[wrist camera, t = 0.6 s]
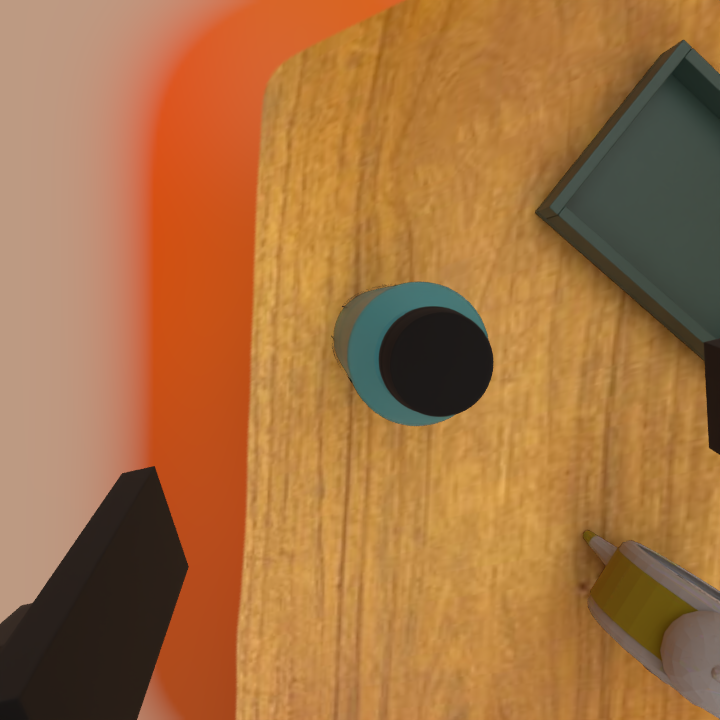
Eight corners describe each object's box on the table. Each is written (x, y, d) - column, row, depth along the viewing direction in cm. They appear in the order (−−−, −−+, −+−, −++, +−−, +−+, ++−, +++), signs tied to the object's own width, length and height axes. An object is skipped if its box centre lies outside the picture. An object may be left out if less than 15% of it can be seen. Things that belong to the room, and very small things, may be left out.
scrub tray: (534, 212, 41) (548, 207, 39) (661, 54, 41) (683, 38, 38) (714, 370, 43) (739, 374, 41) (836, 221, 43) (868, 217, 40)
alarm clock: (710, 581, 45) (908, 721, 30) (661, 657, 45) (834, 832, 30) (584, 507, 44) (728, 616, 29) (535, 586, 44) (651, 734, 29)
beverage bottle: (327, 380, 41) (344, 456, 21) (333, 282, 40) (357, 266, 21) (421, 385, 42) (524, 464, 22) (428, 288, 41) (541, 280, 21)
